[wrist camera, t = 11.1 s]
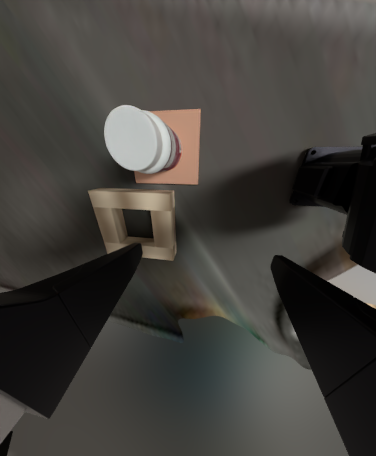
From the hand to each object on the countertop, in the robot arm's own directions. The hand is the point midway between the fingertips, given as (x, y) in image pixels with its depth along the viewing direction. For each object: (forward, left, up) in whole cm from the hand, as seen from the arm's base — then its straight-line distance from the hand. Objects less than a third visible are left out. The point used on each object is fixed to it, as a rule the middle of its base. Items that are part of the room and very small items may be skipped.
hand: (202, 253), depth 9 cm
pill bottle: (+6, -7, -12) cm, 15 cm away
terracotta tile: (+6, -7, -12) cm, 15 cm away
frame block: (+11, +3, -12) cm, 17 cm away
